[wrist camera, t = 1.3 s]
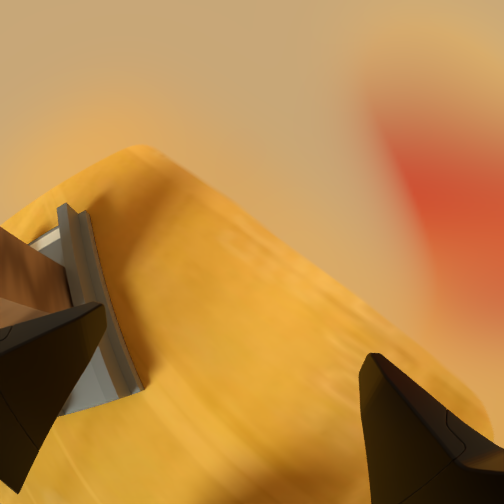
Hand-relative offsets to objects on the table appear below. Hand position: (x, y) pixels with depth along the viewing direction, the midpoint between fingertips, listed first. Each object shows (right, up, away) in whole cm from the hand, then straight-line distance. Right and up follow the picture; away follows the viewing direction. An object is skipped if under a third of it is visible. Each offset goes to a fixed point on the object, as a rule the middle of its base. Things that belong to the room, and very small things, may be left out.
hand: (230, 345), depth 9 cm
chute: (-17, -3, +14) cm, 22 cm away
